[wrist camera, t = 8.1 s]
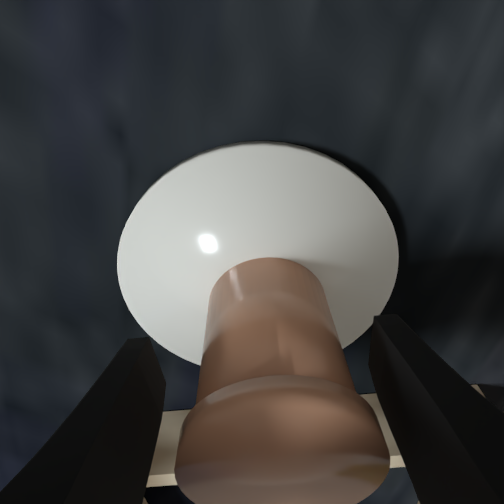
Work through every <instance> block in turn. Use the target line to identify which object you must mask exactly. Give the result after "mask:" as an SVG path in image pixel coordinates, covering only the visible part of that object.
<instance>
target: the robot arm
mask: <svg viewBox="0 0 504 504" xmlns="http://www.w3.org/2000/svg"><path fill="white" fill-rule="evenodd" d="M368 365H369V369H370V372H371V376H372V380H373V383H374V387H375V390H376V394H377V397H378V400H379V403H380V405H381V408H382V410H383V413H384V415H385V418H386V420H387V423H388V425H389V427H390V430H391V432H392V435H393V437H394V440H395V442H396V444H397V447H398V449H399V452H400V454H401V457H402V459H403V461H404V464H405V466H406V469H407V471H408V474H409V476H410V479H411V481H412V483H413V486H414V489H415V492H416V494H417V497H418V500H419V502H420V504H504V413H503V412H502V411H501V410H499V409H498V408H497V407H496V406H495V405H493V404H492V403H491V402H490V401H489V400H487V399H486V398H485V397H484V396H483V395H482V394H480V393H479V392H478V391H477V390H476V389H475V388H473V387H472V386H471V385H470V384H469V383H468V382H467V381H466V380H464V379H463V378H462V377H461V376H460V375H459V374H458V373H457V372H456V371H455V370H454V369H452V368H451V367H450V366H449V365H448V364H447V363H446V362H445V361H444V360H443V359H442V358H441V357H440V356H439V355H437V354H436V353H435V352H434V351H433V350H432V349H431V348H430V347H429V346H428V345H427V344H426V343H425V342H424V341H423V340H422V339H421V338H420V337H419V336H418V335H417V334H416V333H415V332H414V331H413V330H412V329H411V328H410V327H409V326H408V325H407V324H406V323H405V322H404V321H403V320H402V319H401V318H400V317H399V316H398V315H397V314H387V315H376V316H374V318H373V327H372V336H371V345H370V354H369V363H368ZM165 387H166V382H165V379H164V376H163V374H162V371H161V368H160V366H159V363H158V360H157V357H156V355H155V352H154V349H153V347H152V344H151V341H150V339H149V337H145V338H134V339H128V340H127V341H126V342H125V343H124V345H123V346H122V347H121V349H120V350H119V351H118V353H117V354H116V355H115V357H114V358H113V359H112V361H111V362H110V363H109V365H108V366H107V367H106V369H105V370H104V371H103V373H102V374H101V375H100V377H99V378H98V379H97V381H96V382H95V383H94V385H93V386H92V387H91V388H90V390H89V391H88V392H87V393H86V395H85V396H84V397H83V399H82V400H81V401H80V402H79V404H78V405H77V406H76V407H75V409H74V410H73V411H72V412H71V414H70V415H69V416H68V417H67V418H66V420H65V421H64V422H63V423H62V424H61V426H60V427H59V428H58V429H57V430H56V431H55V433H54V434H53V435H52V436H51V437H50V439H49V440H48V441H47V442H46V443H45V444H44V446H43V447H42V448H41V449H40V450H39V451H38V452H37V453H36V454H35V456H34V457H33V458H32V459H31V460H30V461H29V462H28V463H27V464H26V465H25V467H24V468H23V469H22V470H21V471H20V472H19V473H18V474H17V475H16V476H15V477H14V478H13V479H12V480H11V481H10V482H9V483H8V484H7V485H6V486H5V487H4V488H3V489H2V491H0V504H142V503H143V499H144V495H145V491H146V486H147V482H148V478H149V473H150V469H151V465H152V460H153V456H154V452H155V448H156V443H157V439H158V434H159V430H160V425H161V421H162V414H163V406H164V397H165Z"/></svg>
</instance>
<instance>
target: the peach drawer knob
mask: <svg viewBox="0 0 504 504" xmlns="http://www.w3.org/2000/svg"><path fill="white" fill-rule="evenodd" d="M389 468H390V453H389V449H388V447H387V444H386V441H385V438H384V435H383V432H382V429H381V427H380V424H379V421H378V418H377V415H376V414H375V412H374V410H373V408H372V407H371V406H370V404H369V403H368V402H367V401H366V400H365V399H364V398H363V397H362V396H360V395H359V394H357V393H356V390H355V387H354V384H353V381H352V378H351V375H350V371H349V368H348V365H347V362H346V359H345V356H344V352H343V349H342V346H341V343H340V340H339V337H338V333H337V330H336V327H335V324H334V321H333V318H332V314H331V311H330V308H329V305H328V302H327V299H326V295H325V292H324V289H323V287H322V285H321V283H320V281H319V280H318V278H317V277H316V276H315V275H314V274H313V273H312V272H311V271H310V270H308V269H307V268H306V267H304V266H302V265H301V264H298V263H296V262H294V261H290V260H287V259H282V258H272V257H266V258H257V259H252V260H248V261H245V262H242V263H240V264H238V265H236V266H234V267H232V268H231V269H229V270H228V271H226V272H225V273H224V274H223V275H222V276H221V277H220V278H219V279H218V280H217V282H216V283H215V285H214V287H213V288H212V291H211V293H210V297H209V304H208V312H207V320H206V327H205V335H204V343H203V351H202V359H201V367H200V375H199V383H198V391H197V399H196V405H195V406H194V407H193V408H192V409H191V411H190V412H189V413H188V414H187V416H186V418H185V419H184V421H183V423H182V426H181V429H180V436H179V442H178V448H177V455H176V461H175V468H174V473H175V479H176V482H177V484H178V486H179V488H180V489H181V491H182V492H183V493H184V494H185V495H186V496H187V497H188V498H189V499H190V500H191V501H193V502H194V503H195V504H357V503H358V502H360V501H362V500H363V499H365V498H366V497H368V496H369V495H370V494H372V493H373V492H374V491H375V490H376V489H377V488H378V487H379V486H380V485H381V484H382V482H383V481H384V480H385V478H386V476H387V474H388V472H389Z"/></svg>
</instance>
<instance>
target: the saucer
mask: <svg viewBox="0 0 504 504" xmlns="http://www.w3.org/2000/svg"><path fill="white" fill-rule="evenodd" d="M266 257H272V258H282V259H287V260H290V261H294V262H296V263H298V264H301V265H302V266H304V267H306V268H307V269H308V270H310V271H311V272H312V273H313V274H314V275H315V276H316V277H317V278H318V280H319V281H320V283H321V285H322V287H323V289H324V292H325V295H326V299H327V302H328V305H329V308H330V311H331V314H332V318H333V321H334V324H335V327H336V330H337V333H338V337H339V340H340V343H341V346H342V349H343V348H345V347H346V346H348V345H349V344H351V343H352V342H354V341H355V340H356V339H357V338H358V337H360V336H361V335H362V334H363V333H364V332H365V331H366V330H367V329H368V328H369V327H370V326H371V325H372V324H373V318H374V316H376V315H380V313H381V312H382V310H383V309H384V307H385V305H386V303H387V302H388V300H389V298H390V295H391V293H392V290H393V287H394V285H395V281H396V276H397V272H398V259H399V253H398V243H397V238H396V234H395V230H394V227H393V224H392V222H391V220H390V218H389V215H388V213H387V211H386V209H385V208H384V206H383V205H382V204H381V202H380V201H379V199H378V198H377V196H376V195H375V194H374V192H373V191H372V190H371V188H370V187H369V186H368V185H367V184H366V183H365V182H364V181H363V180H362V179H361V178H360V177H359V176H358V175H357V174H356V173H354V172H353V171H352V170H350V169H349V168H348V167H346V166H345V165H344V164H342V163H340V162H339V161H337V160H335V159H333V158H331V157H329V156H328V155H326V154H323V153H321V152H318V151H315V150H313V149H310V148H307V147H304V146H299V145H295V144H290V143H286V142H274V141H246V142H238V143H232V144H227V145H221V146H218V147H215V148H212V149H209V150H205V151H202V152H200V153H198V154H196V155H193V156H191V157H189V158H187V159H185V160H183V161H181V162H180V163H178V164H177V165H175V166H174V167H172V168H171V169H169V170H168V171H166V172H165V173H164V174H163V175H162V176H161V177H159V178H158V179H157V180H156V181H155V182H154V183H153V184H152V185H151V186H150V187H149V188H148V190H147V191H146V192H145V193H144V195H143V196H142V197H141V198H140V200H139V201H138V203H137V205H136V207H135V208H134V210H133V212H132V213H131V215H130V217H129V219H128V220H127V222H126V225H125V228H124V230H123V233H122V235H121V238H120V243H119V249H118V254H117V272H118V279H119V285H120V288H121V291H122V294H123V298H124V300H125V302H126V304H127V306H128V308H129V310H130V312H131V313H132V315H133V316H134V318H135V319H136V321H137V322H138V323H139V325H140V326H141V327H142V328H143V329H144V330H145V331H146V332H147V334H149V335H150V336H151V337H152V338H153V339H154V340H155V341H156V342H158V343H159V344H160V345H162V346H163V347H165V348H166V349H167V350H169V351H170V352H172V353H174V354H176V355H178V356H180V357H181V358H183V359H186V360H188V361H190V362H193V363H195V364H198V365H201V359H202V351H203V343H204V335H205V327H206V320H207V312H208V304H209V297H210V293H211V291H212V288H213V287H214V285H215V283H216V282H217V280H218V279H219V278H220V277H221V276H222V275H223V274H224V273H225V272H226V271H228V270H229V269H231V268H232V267H234V266H236V265H238V264H240V263H242V262H245V261H248V260H252V259H257V258H266Z"/></svg>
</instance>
